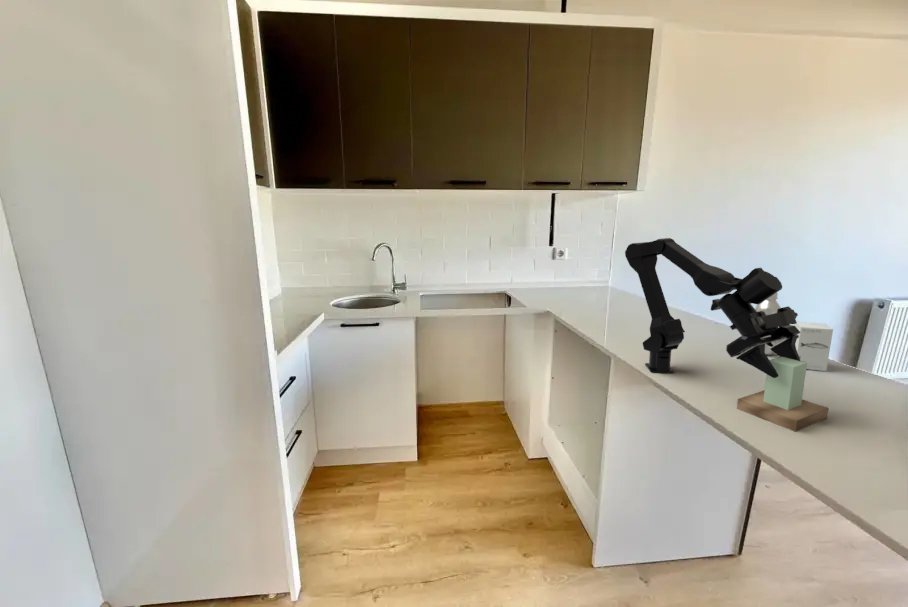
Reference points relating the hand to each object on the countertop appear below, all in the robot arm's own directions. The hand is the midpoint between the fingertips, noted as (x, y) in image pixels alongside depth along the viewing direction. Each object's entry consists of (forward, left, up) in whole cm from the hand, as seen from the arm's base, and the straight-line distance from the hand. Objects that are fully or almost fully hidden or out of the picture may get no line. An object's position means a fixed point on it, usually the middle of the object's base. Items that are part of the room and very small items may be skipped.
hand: (788, 373), depth 91 cm
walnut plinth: (0, 0, -10) cm, 10 cm away
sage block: (0, 0, -7) cm, 8 cm away
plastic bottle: (-43, +18, -10) cm, 48 cm away
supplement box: (-32, +24, -10) cm, 41 cm away
